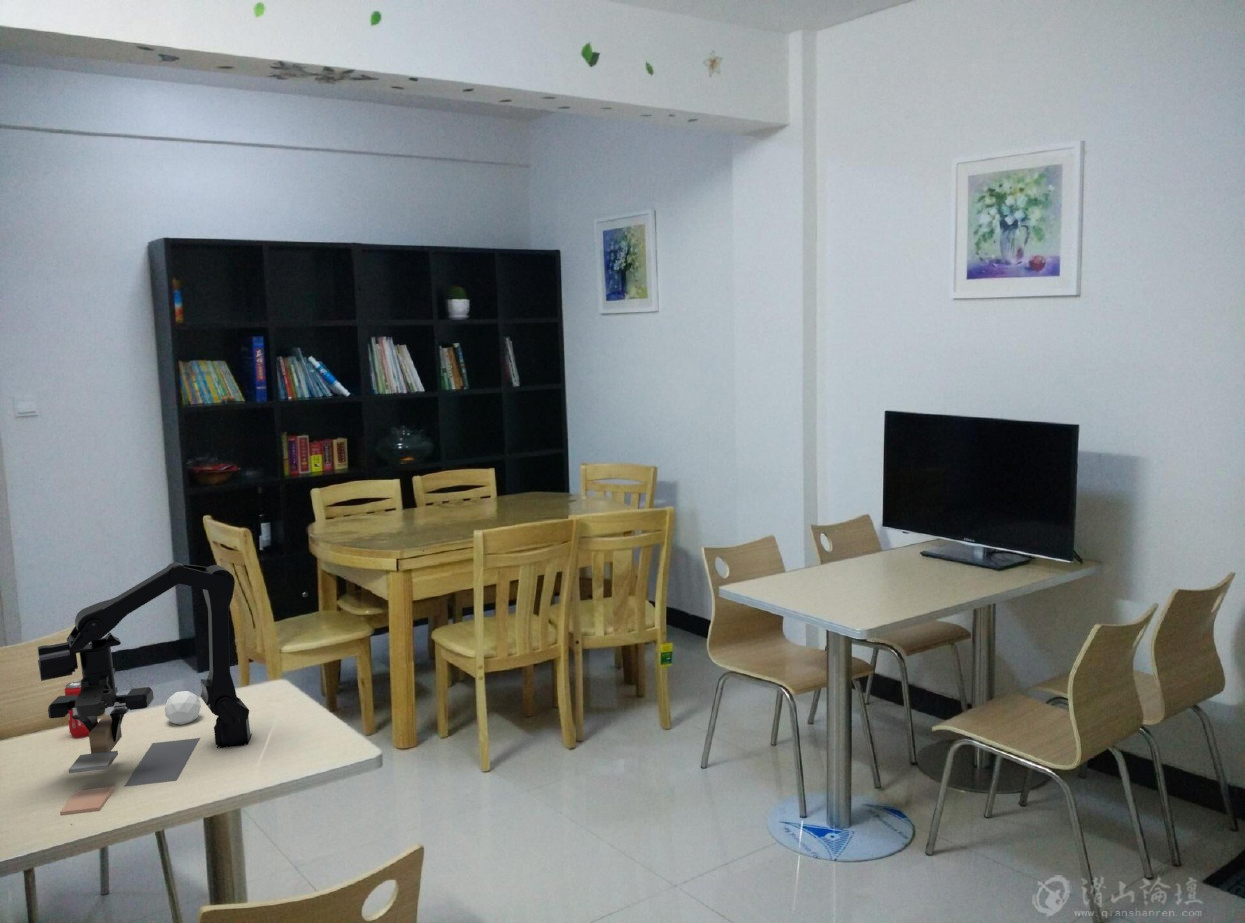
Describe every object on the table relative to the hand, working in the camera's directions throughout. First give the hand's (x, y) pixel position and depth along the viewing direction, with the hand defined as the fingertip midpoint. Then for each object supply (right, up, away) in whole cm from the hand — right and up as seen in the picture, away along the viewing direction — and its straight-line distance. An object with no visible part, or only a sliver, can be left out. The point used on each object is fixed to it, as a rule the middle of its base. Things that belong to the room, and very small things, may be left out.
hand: (106, 742), depth 213 cm
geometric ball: (+5, -3, +27) cm, 28 cm away
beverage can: (-17, -5, +24) cm, 30 cm away
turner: (+1, -1, -3) cm, 4 cm away
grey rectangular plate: (+10, -6, +5) cm, 12 cm away
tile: (+2, -8, -8) cm, 12 cm away
